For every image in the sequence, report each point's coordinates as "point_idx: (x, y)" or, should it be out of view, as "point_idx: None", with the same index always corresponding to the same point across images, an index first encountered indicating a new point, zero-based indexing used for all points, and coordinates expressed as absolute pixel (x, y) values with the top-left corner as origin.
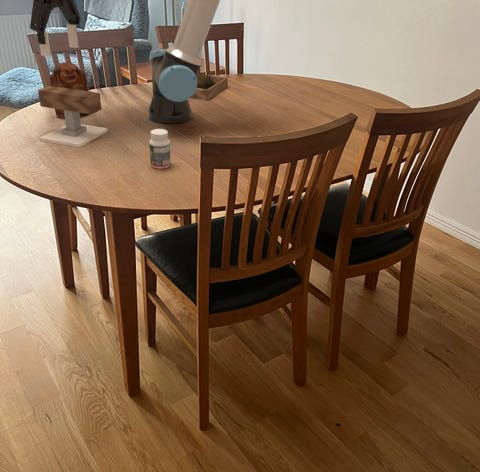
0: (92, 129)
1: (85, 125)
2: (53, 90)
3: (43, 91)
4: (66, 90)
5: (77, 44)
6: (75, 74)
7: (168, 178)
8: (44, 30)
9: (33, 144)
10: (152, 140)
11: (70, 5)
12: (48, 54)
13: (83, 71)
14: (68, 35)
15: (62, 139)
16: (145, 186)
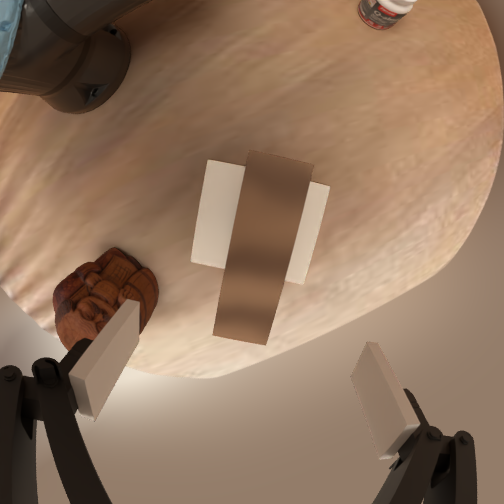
0: (225, 192)
1: (201, 219)
2: (258, 306)
3: (270, 329)
4: (247, 270)
5: (127, 309)
6: (85, 305)
7: (418, 7)
8: (429, 430)
9: (324, 284)
10: (408, 5)
11: (21, 489)
12: (379, 351)
13: (55, 293)
14: (118, 375)
15: (306, 233)
16: (451, 40)
